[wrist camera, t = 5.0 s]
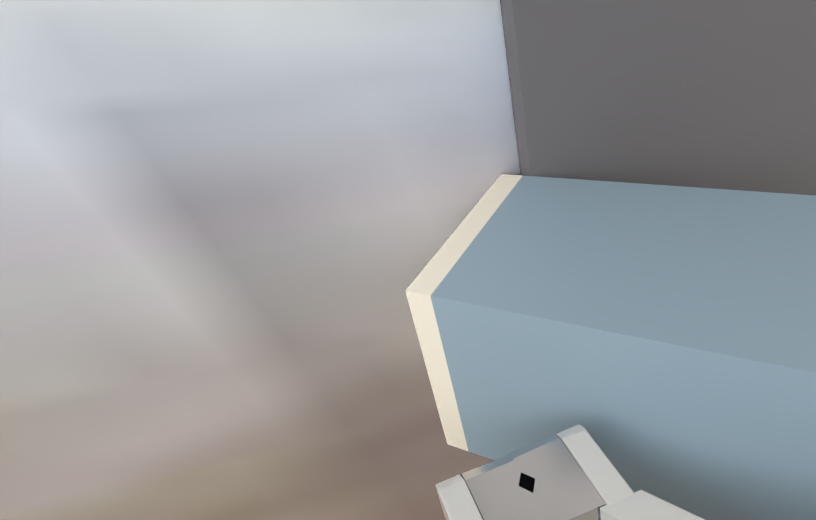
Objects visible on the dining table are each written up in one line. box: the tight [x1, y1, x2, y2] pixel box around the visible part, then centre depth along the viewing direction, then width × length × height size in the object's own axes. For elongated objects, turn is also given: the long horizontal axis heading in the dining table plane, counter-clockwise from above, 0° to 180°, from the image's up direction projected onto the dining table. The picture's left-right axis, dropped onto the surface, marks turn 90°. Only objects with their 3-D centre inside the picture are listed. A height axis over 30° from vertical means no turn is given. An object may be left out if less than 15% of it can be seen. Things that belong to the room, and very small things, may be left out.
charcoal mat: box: [500, 0, 816, 196], centre depth 18 cm, size 14×22×1 cm, turn 13°
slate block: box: [405, 174, 816, 520], centre depth 12 cm, size 5×5×10 cm
